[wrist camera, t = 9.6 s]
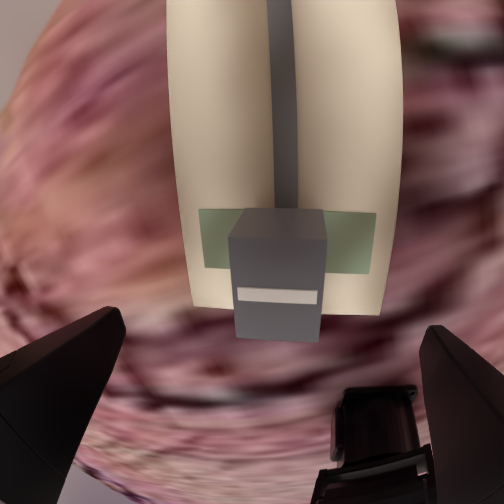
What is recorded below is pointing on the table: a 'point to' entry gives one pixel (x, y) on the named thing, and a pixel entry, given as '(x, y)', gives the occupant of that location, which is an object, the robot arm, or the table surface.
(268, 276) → the fader knob
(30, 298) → the table surface
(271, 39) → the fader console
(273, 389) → the table surface
